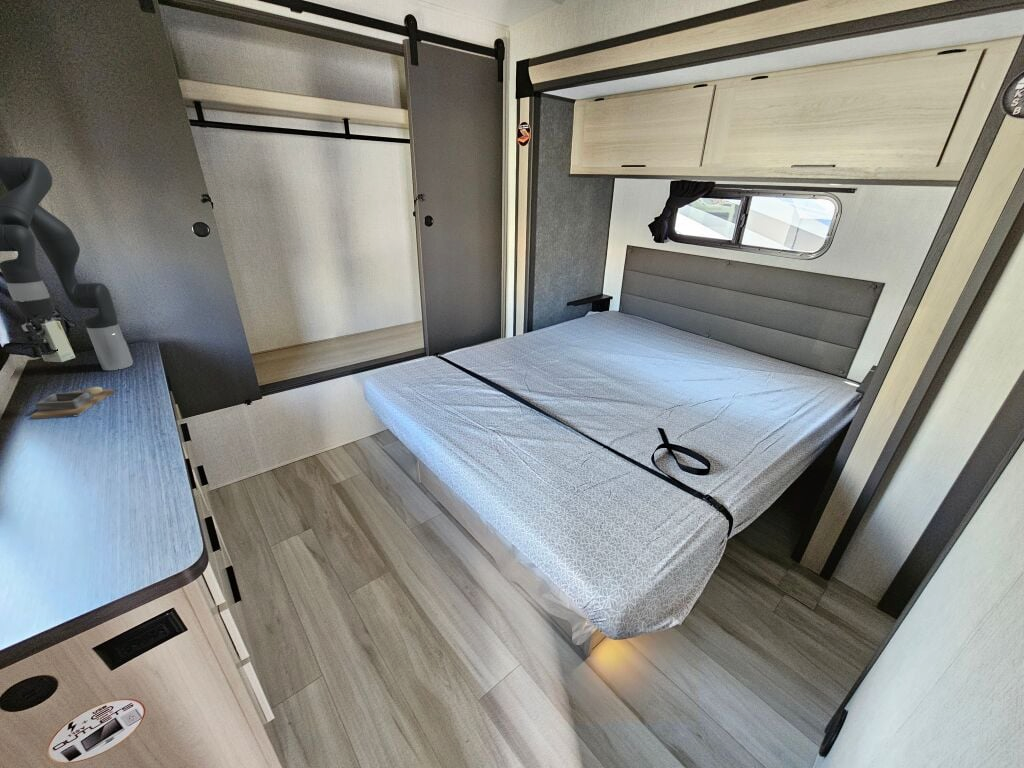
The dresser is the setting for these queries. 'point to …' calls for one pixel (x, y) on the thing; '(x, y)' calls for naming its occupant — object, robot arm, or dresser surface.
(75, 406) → the carrier plate
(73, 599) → the dresser surface
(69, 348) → the skincare box
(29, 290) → the robot arm
